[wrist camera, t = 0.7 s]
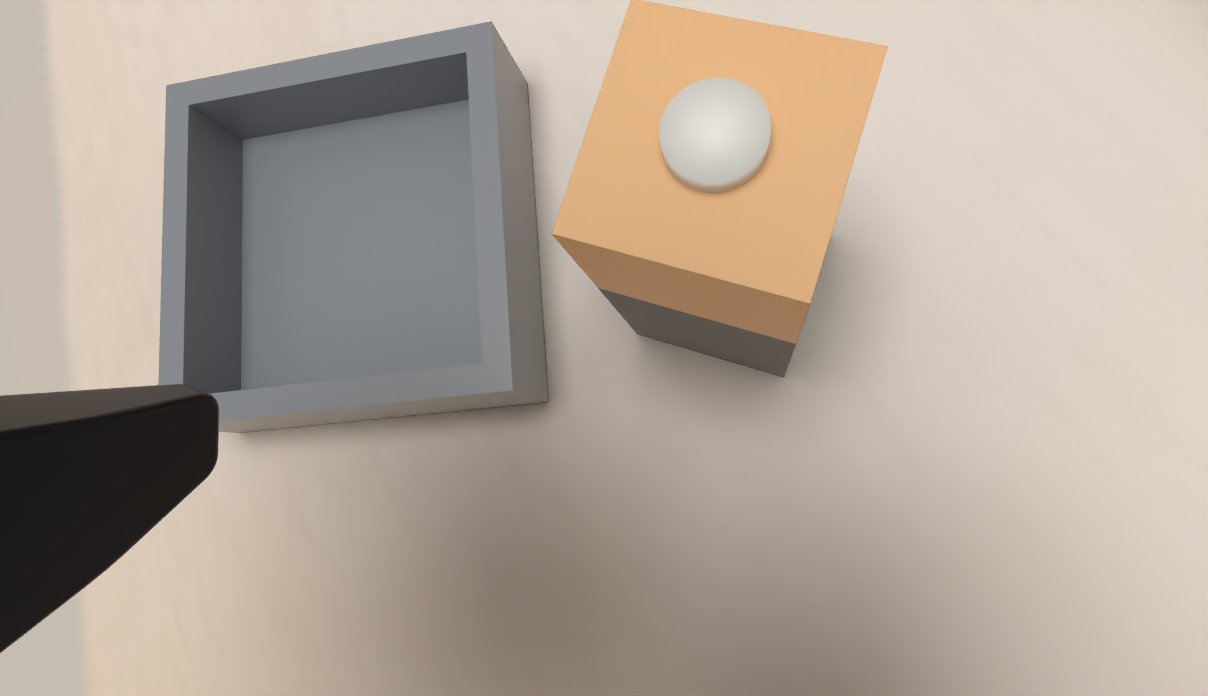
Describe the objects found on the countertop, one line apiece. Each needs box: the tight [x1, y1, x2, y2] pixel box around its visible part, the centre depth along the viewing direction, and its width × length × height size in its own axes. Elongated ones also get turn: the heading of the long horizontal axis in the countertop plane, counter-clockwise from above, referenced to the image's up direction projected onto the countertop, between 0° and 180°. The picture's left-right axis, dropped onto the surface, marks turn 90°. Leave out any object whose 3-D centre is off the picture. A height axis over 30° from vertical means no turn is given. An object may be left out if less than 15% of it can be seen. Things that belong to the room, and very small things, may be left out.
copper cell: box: [552, 0, 888, 377], centre depth 17 cm, size 4×4×10 cm
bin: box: [159, 21, 548, 433], centre depth 23 cm, size 11×11×4 cm
